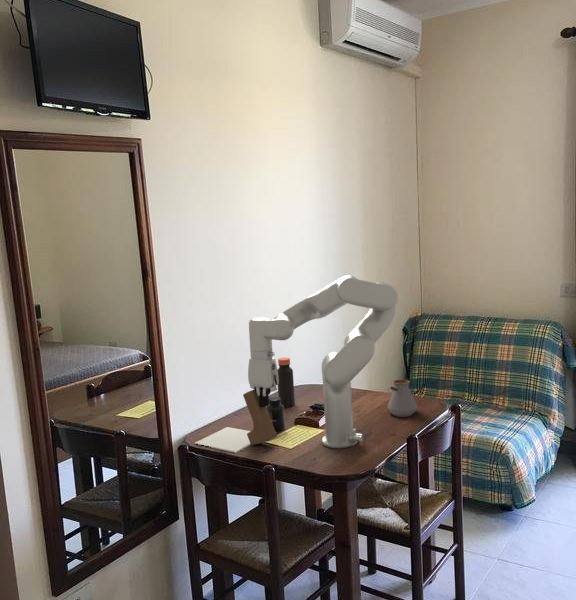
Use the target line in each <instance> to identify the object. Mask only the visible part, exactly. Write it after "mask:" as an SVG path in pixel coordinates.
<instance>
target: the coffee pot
mask: <svg viewBox="0 0 576 600" xmlns="http://www.w3.org/2000/svg"><path fill="white" fill-rule="evenodd" d="M410 382H411V381H410V380H408V379H403V378H402V379H395V380H392V384H393V385H394V386H390V387H388V388H387V392H389V393H391V395H390V399H389V401H388V404H387V410H388V411H389V412H390V413H391V414H392V415H393V416H395V417H398V418H399V417H401V418H406V417H410V416H412V415H413V414H414V413H416V411H417V409H418V405H417V402H416V401H415V398H414V396H413V394H412V392H411V389H410V387H409V385H410ZM389 389H390V390H392V391H389Z"/></svg>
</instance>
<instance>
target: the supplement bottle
mask: <svg viewBox="0 0 576 600" xmlns="http://www.w3.org/2000/svg"><path fill="white" fill-rule="evenodd" d="M266 408H267V411H268V414H269V416H270V419H271V421H272V424H273V427H274V429H275V432H276V433H279V432H282V431H284V430H285V429H286V424H285V423H286V422H285V407H284V406H283V405H282V404H281V398H280V397H278V396H271V397H270V396H269V405H268V406H266Z"/></svg>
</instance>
